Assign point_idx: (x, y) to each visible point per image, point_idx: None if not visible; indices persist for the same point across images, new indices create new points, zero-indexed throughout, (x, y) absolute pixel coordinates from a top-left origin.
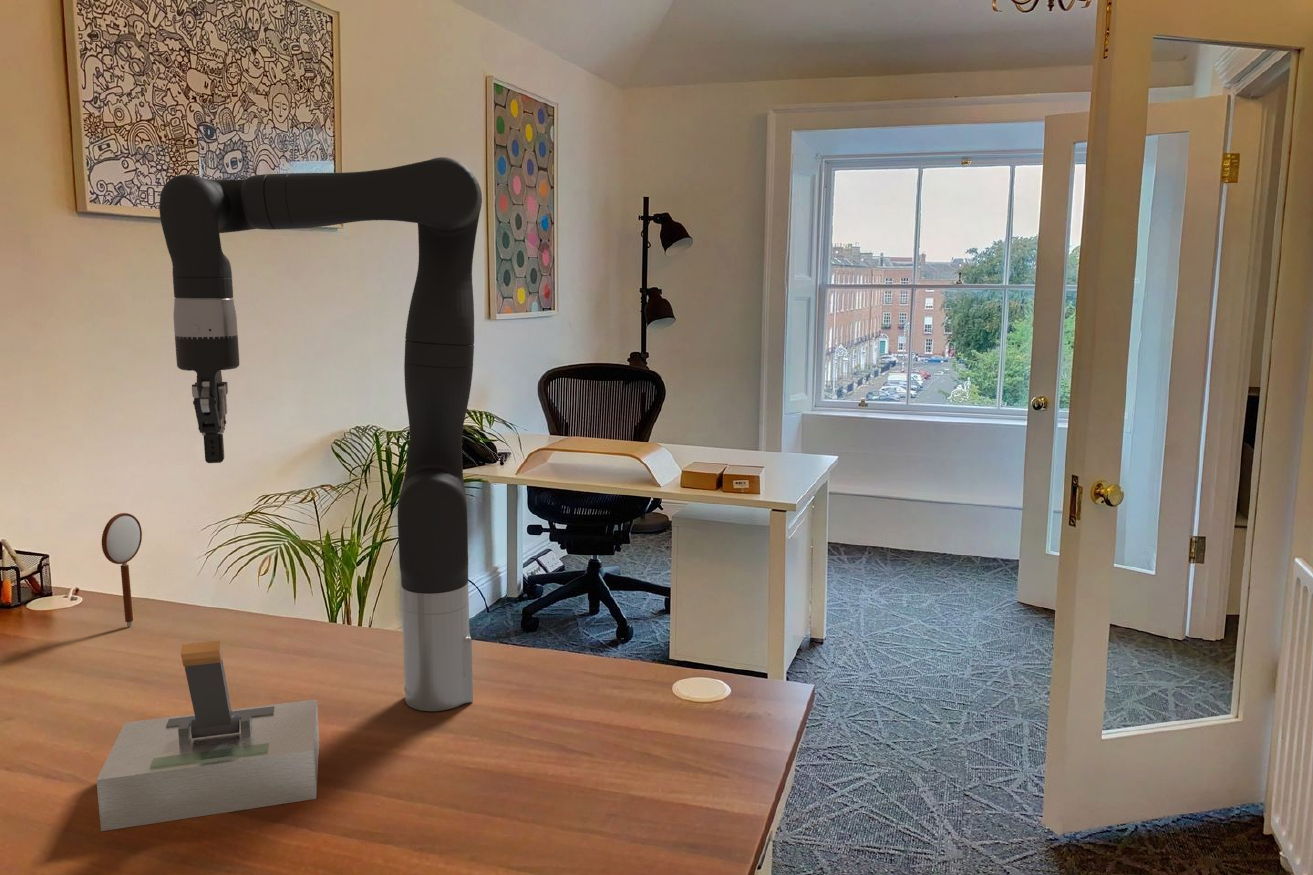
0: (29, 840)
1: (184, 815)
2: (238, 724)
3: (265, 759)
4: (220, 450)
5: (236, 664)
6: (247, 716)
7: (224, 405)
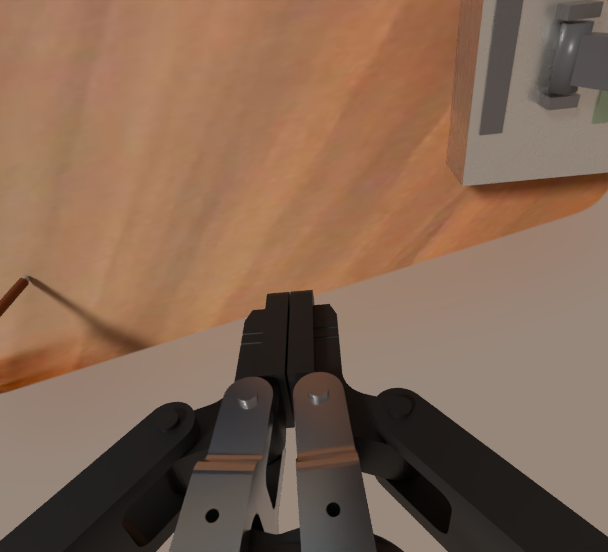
0: (558, 207)
1: None
2: (583, 21)
3: None
4: (313, 324)
5: (151, 107)
6: (585, 8)
7: (319, 531)
